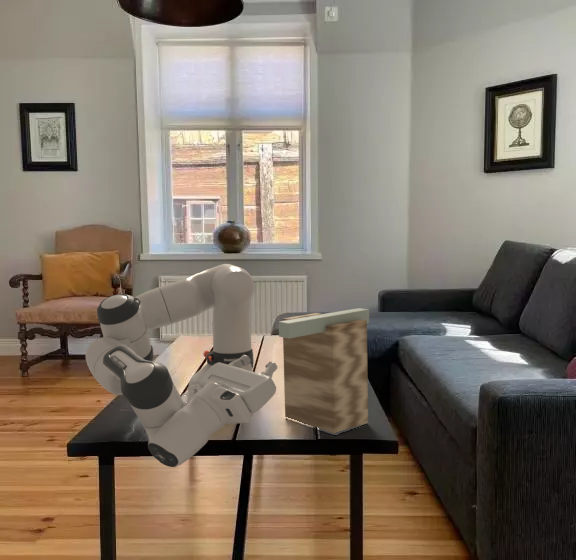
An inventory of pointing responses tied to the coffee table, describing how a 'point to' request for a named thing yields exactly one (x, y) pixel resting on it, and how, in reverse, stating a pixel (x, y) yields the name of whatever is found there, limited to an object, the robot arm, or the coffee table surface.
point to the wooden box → (327, 376)
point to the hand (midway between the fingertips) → (260, 360)
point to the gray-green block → (319, 322)
